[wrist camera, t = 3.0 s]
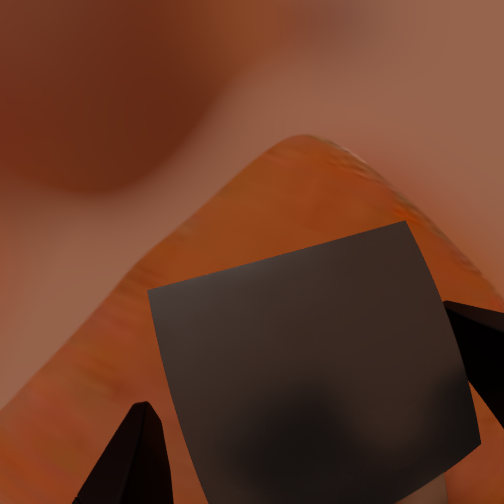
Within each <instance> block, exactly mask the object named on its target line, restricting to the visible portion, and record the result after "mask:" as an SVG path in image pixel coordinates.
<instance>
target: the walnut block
mask: <svg viewBox="0 0 504 504" xmlns="http://www.w3.org/2000/svg"><path fill="white" fill-rule="evenodd" d="M394 504H448V497H447V490H446V484H445V478H444V473H443V474H441V475H440V476H438V477H437V478H436V479H434V480H433V481H431V482H429V483H428V484H426V485H425V486H423V487H422V488H420V489H418V490H417V491H415V492H413V493H412V494H410V495H408V496H407V497H405V498H403V499H401V500H400V501H398V502H396V503H394Z"/></svg>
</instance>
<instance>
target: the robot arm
mask: <svg viewBox="0 0 504 504" xmlns="http://www.w3.org/2000/svg"><path fill="white" fill-rule="evenodd" d="M443 305H444V308H445V310H446V313H447V316H448V318H449V321H450V324H451V327H452V330H453V333H454V336H455V339H456V342H457V345H458V348H459V351H460V354H461V358H462V361H463V364H464V368H465V371H466V375H467V379H468V381H469V382H470V383H471V385H472V386H473V387H474V389H475V390H476V391H477V393H478V394H479V395H480V396H481V398H482V399H483V401H484V402H485V403H486V405H487V406H488V407H489V409H490V410H491V411H492V413H493V414H494V416H495V417H496V418H497V420H498V421H499V423H500V424H501V426H502V427H503V429H504V313H501V312H496V311H492V310H487V309H483V308H479V307H474V306H470V305H465V304H461V303H456V302H452V301H443ZM77 496H78V497H75V499H74V501H73V502H72V504H174V502H173V492H172V481H171V471H170V465H169V460H168V455H167V450H166V445H165V439H164V433H163V427H162V423H161V420H160V418H159V417H158V415H157V414H156V412H155V411H154V409H153V407H152V406H151V404H150V403H149V402H147V401H145V402H139V403H135V404H133V405H132V407H131V408H130V410H129V412H128V413H127V415H126V416H125V418H124V420H123V421H122V423H121V424H120V426H119V427H118V429H117V431H116V432H115V434H114V435H113V437H112V439H111V440H110V442H109V444H108V445H107V447H106V448H105V450H104V452H103V453H102V455H101V456H100V458H99V460H98V461H97V463H96V465H95V466H94V468H93V469H92V471H91V473H90V474H89V476H88V478H87V479H86V481H85V483H84V484H83V486H82V487H81V489H80V491H79V492H78V494H77Z"/></svg>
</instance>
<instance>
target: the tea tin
mask: <svg viewBox="0 0 504 504" xmlns="http://www.w3.org/2000/svg"><path fill="white" fill-rule="evenodd" d="M147 291H148V297H149V302H150V307H151V312H152V317H153V322H154V327H155V332H156V336H157V341H158V345H159V349H160V354H161V358H162V362H163V366H164V370H165V374H166V378H167V382H168V385H169V389H170V393H171V396H172V400H173V403H174V407H175V410H176V413H177V417H178V420H179V423H180V426H181V430H182V433H183V436H184V439H185V442H186V445H187V448H188V451H189V454H190V456H191V459H192V462H193V465H194V468H195V470H196V473H197V476H198V478H199V481H200V483H201V486H202V489H203V491H204V494H205V496H206V498H207V501H208V503H209V504H394V503H396V502H398V501H400V500H401V499H403V498H405V497H407V496H408V495H410V494H412V493H413V492H415V491H417V490H418V489H420V488H422V487H423V486H425V485H426V484H428V483H429V482H431V481H433V480H434V479H436V478H437V477H438V476H440V475H441V474H443V473H444V472H446V471H447V470H448V469H450V468H451V467H453V466H454V465H455V464H457V463H458V462H459V461H461V460H462V459H463V458H464V457H466V456H467V455H468V454H469V453H471V452H472V451H473V450H474V449H476V448H477V447H478V446H479V445H480V444H481V440H480V434H479V428H478V423H477V417H476V413H475V408H474V403H473V399H472V395H471V391H470V386H469V383H468V379H467V375H466V371H465V368H464V364H463V361H462V358H461V354H460V351H459V348H458V345H457V342H456V339H455V336H454V333H453V330H452V327H451V324H450V321H449V318H448V316H447V313H446V310H445V308H444V305H443V302H442V300H441V297H440V295H439V292H438V290H437V287H436V285H435V283H434V280H433V278H432V276H431V273H430V271H429V269H428V267H427V264H426V262H425V260H424V258H423V256H422V253H421V251H420V249H419V247H418V245H417V243H416V241H415V239H414V237H413V235H412V233H411V231H410V229H409V227H408V225H407V223H406V221H401V222H398V223H394V224H391V225H387V226H384V227H380V228H377V229H373V230H369V231H366V232H362V233H359V234H355V235H352V236H348V237H344V238H341V239H337V240H334V241H330V242H326V243H323V244H319V245H315V246H312V247H308V248H304V249H301V250H297V251H293V252H290V253H286V254H282V255H279V256H275V257H271V258H268V259H264V260H260V261H256V262H253V263H249V264H245V265H242V266H238V267H234V268H230V269H227V270H223V271H219V272H215V273H211V274H208V275H204V276H200V277H196V278H192V279H189V280H185V281H181V282H177V283H173V284H170V285H166V286H162V287H158V288H154V289H150V290H147Z"/></svg>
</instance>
